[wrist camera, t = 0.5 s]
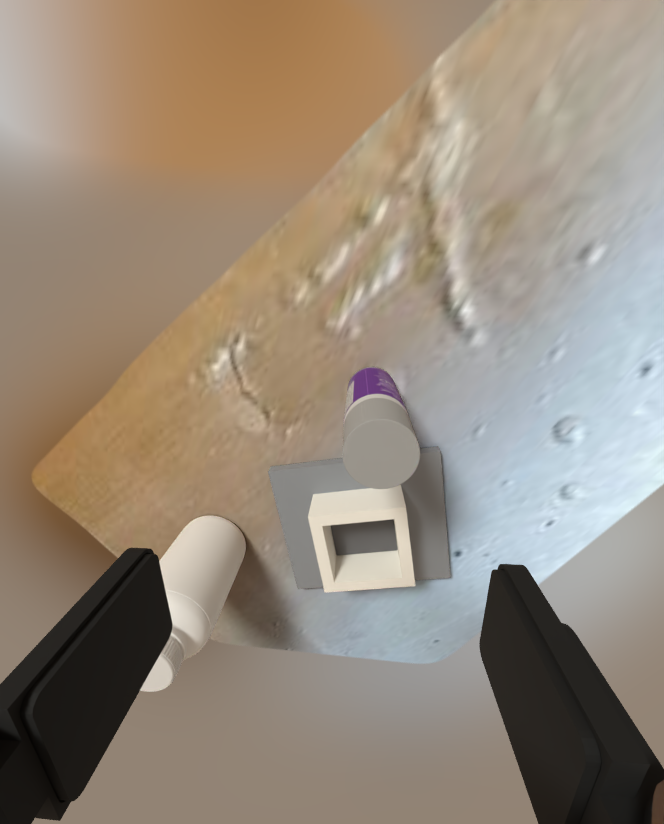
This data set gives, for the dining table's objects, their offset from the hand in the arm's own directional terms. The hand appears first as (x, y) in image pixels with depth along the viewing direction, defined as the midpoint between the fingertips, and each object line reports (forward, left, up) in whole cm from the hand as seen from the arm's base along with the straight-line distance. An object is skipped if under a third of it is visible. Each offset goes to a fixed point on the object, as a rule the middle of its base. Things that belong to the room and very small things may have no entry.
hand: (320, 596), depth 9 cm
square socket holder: (+1, +16, -25) cm, 30 cm away
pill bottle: (+19, +17, -26) cm, 36 cm away
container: (-2, +1, -26) cm, 26 cm away
